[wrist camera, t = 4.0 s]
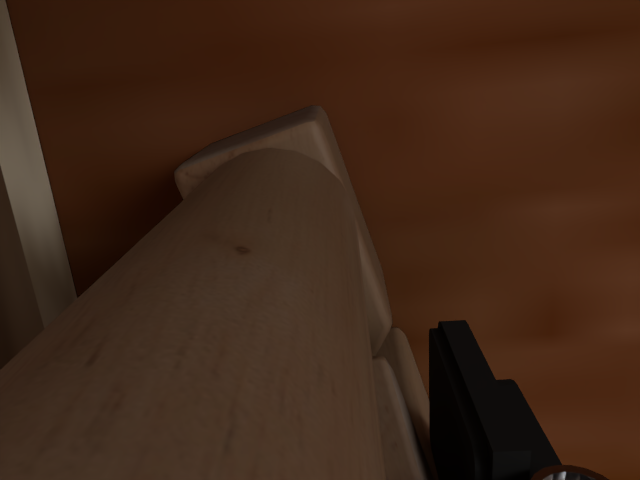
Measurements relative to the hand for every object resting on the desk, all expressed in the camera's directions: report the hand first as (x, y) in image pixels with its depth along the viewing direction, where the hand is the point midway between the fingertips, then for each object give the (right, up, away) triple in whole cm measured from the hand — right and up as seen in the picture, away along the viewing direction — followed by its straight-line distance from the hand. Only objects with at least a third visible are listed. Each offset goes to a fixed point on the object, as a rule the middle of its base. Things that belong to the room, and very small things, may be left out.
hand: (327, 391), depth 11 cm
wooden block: (0, +2, +5) cm, 6 cm away
